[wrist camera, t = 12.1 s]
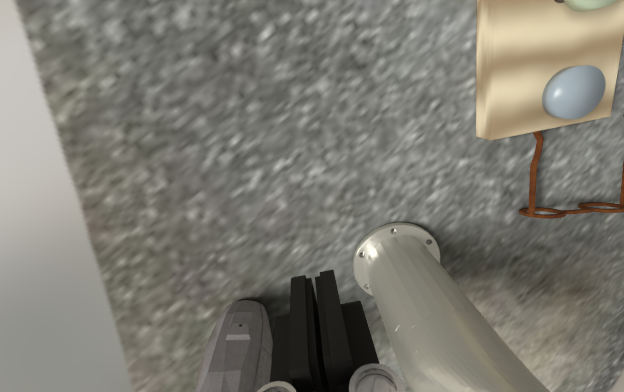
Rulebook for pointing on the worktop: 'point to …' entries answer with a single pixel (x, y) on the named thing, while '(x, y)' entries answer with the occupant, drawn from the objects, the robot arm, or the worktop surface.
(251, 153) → the worktop surface
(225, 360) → the small grey backpack
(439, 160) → the worktop surface
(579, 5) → the sage key
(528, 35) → the wooden button board
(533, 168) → the glasses
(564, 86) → the slate-blue key
